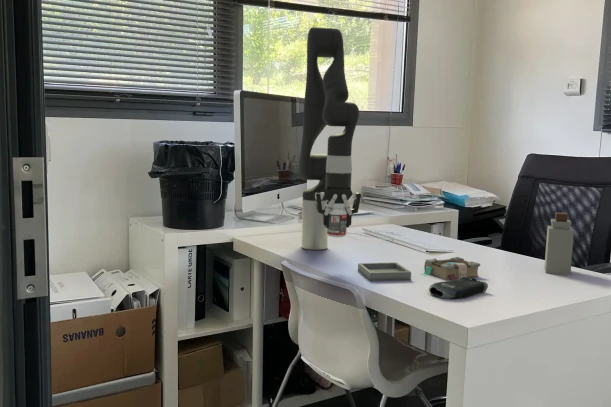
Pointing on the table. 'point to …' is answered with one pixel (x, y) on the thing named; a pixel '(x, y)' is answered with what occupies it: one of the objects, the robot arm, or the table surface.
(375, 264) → the tray
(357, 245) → the table surface
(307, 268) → the table surface
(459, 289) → the electronic device
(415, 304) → the table surface
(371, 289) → the table surface
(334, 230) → the pill bottle
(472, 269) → the cardboard box
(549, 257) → the perfume bottle
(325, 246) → the robot arm
